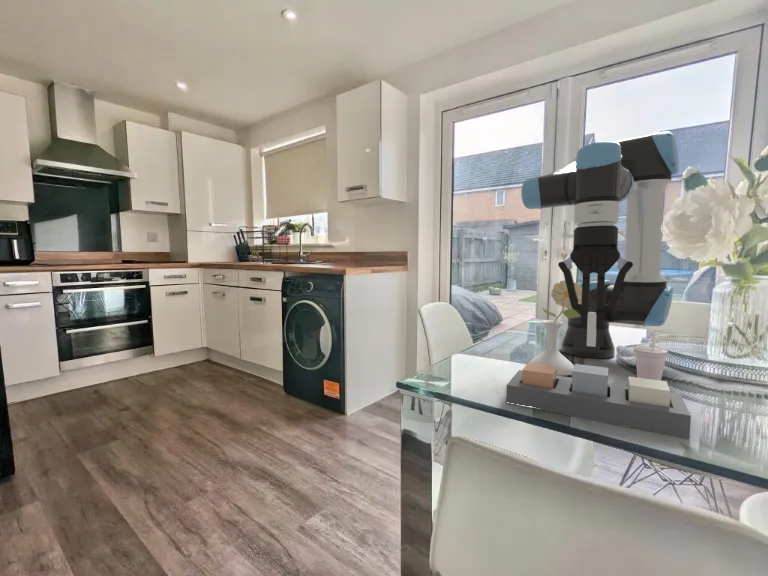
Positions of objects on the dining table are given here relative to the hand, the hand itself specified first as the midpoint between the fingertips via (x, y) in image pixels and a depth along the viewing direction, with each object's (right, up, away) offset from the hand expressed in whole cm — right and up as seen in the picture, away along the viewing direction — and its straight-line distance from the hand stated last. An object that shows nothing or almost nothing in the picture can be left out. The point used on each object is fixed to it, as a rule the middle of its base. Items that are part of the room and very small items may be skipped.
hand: (591, 344), depth 73 cm
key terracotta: (-8, -11, +6) cm, 15 cm away
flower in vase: (+4, -12, +24) cm, 27 cm away
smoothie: (+19, -12, +11) cm, 25 cm away
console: (0, -13, +1) cm, 13 cm away
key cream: (+8, -12, -4) cm, 15 cm away
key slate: (0, -10, +1) cm, 10 cm away
